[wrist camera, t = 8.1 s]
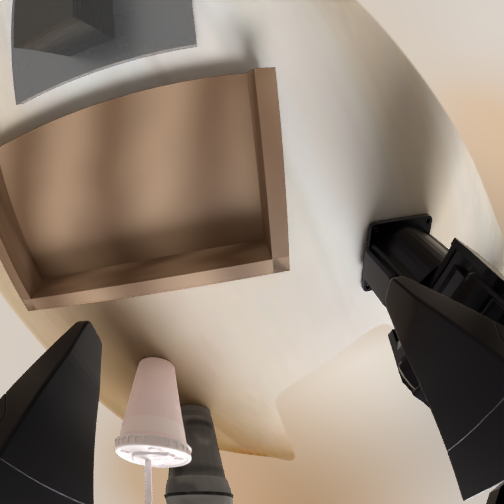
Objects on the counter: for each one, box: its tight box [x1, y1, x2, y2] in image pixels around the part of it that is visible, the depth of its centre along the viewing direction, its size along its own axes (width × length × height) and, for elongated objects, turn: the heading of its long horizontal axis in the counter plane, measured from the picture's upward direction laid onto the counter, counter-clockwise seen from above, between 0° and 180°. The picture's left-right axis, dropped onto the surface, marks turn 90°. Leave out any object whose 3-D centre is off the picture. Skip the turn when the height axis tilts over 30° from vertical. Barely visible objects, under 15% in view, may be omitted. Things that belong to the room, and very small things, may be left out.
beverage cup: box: [164, 405, 233, 504], centre depth 22 cm, size 7×7×20 cm
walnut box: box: [0, 67, 290, 311], centre depth 15 cm, size 19×12×4 cm, turn 96°
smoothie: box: [115, 357, 192, 504], centre depth 20 cm, size 6×6×14 cm
